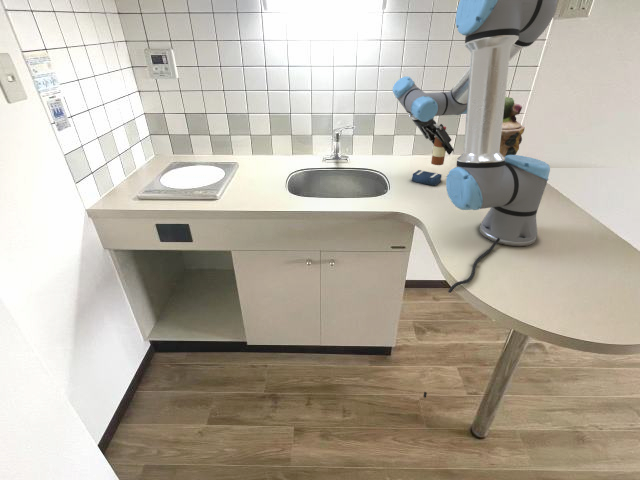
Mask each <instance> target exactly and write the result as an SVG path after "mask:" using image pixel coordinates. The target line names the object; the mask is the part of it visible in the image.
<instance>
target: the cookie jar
mask: <svg viewBox="0 0 640 480" xmlns="http://www.w3.org/2000/svg"><path fill="white" fill-rule="evenodd" d="M522 110H523V106H522V105H521V104H519V103H515V100H514V98H513V97H510V96H506V95H505V104H504V114H503V123H502V132H501V142H500V151H499V152H500V154H501V155H502V156H503V157H505V156H507V155H517V153H518V152H519V150H520V145H521V144H522V141H523V138H522V135H523V134H524V132H525V130H526V129H525V126H523V125H522V124H521V122H520V121H518V120H517V117H516V116H518V115H520V113H521V112H522Z"/></svg>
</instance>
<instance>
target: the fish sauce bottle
mask: <svg viewBox="0 0 640 480" xmlns="http://www.w3.org/2000/svg"><path fill="white" fill-rule="evenodd" d="M443 127H444V129H445V131H446V130H447V127H446V126H444V125H443ZM432 146H433V147H432V152H431V153H432V155H431V161H430V164H431V165H433V166H443V165H444V163H445V158H446V154H447V152H446V150H445V149H444V147H443V146H442V143H441V142H440V140H439V139H438V138H437V137H436V136H435V141H434V144H433V145H432Z"/></svg>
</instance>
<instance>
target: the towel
mask: <svg viewBox="0 0 640 480" xmlns="http://www.w3.org/2000/svg"><path fill="white" fill-rule="evenodd" d="M442 175H443V174H441V173H437V172H432V171H427V170H421V169H418V170H416V171H415V172H413V173H412V176H411V182H414V183H419V184H421V185H427V186H432V187H436V186H437V185H438V184H440V183H442V182H441V180H442Z"/></svg>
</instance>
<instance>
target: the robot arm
mask: <svg viewBox="0 0 640 480" xmlns="http://www.w3.org/2000/svg"><path fill="white" fill-rule="evenodd" d="M557 5H558V0H459V2H458V5H457V9H456V12H455V13H456V14H455V25H456V26H455V27H456V29H457V32H458V33H459V34H460V35H462V36H464V37H465V39H464V47H465V48H466V49H467V50H468V51H469V52H470V61H469V62H470V63H469V68H468V69H467V70H466V71H465V72H464V74H463V75H462V76H461V78H460V79H459V80H458V81H457V82H456V83H455V85H454V86H453V87H452V88H451V89H450V90H449V91H441V92H425V91H423V90H422V89H421V88H419V87H418V85H416V83H415V81H414V80H413V79H412V77H411V76H408V75H406V76H402V77H400V78H399V79H398V80H397V81H395V83H394V84H393V86H392V93H393V95H394V96H395V98H396V99H397V101H398V102H399V104H400V105H401V106H402V107H403V108H404V110H405V112H406V113H407V114H408V117H409V118H410V119H411V120H412V122H413V124H414V125H415V126H416V127H417V128H418V129H419V131H420V132H421V134H422V135H423V136H424V138H425V139H426V140H428V141H430V142H431V143H432V145H434V141H435V136H436V137H437V138H438V139H439V140H440V142H441V143H442V146H443V147H444V149H445V150H446V154H447V155H449V156H450V155H451V154H452V153H453V151H454V150H455V149H454V148H453V146H452V145H451V141H452V138H451V137H450V135H449V133H448V132H447V131H446V130H445V129H444V127H445V126H444V125H443V124H442V123H440V124H438V123H437V122H436V120H434V118H435V117H441V116H460V115H464V114H465V128H464V129H465V130H464V142H463V143H464V144H463V152H462V153H461V155H460V156H459V157H458V158H456V167H454V168H451V169H450V170H449V171H448V174H447V175H446V178H445V187H446V188H445V189H446V192H447V195H448V198H449V199H450V201H451V203H452V204H453V206H455V208H457V209H459V210H461V211H478V210H482V209H489V210H488V212H487V213H486V215H485V216H484V218H483V219H482V221H481V223H480V226H479V232H480V234H481V235H482V236H483V237H485V238H486V239H487V240H489V241H492V242H493V243H492V245H491V246H490V247H489V248H488V249H487V250H486V251H485V252H483V253H482V254H480V255H479V256H478V257H477V258H476V259H475V260H474V261H473V265H472V268H471V273H470V275H469V276H468V277H467V279H464V280H460V281H457V282H455V283H453V284H452V285H451V286H450V288H449V289H448V290H447V292H448V294H449V293H450V294H451V293H452V292H453V290H454V289H455V288H457V287H458V286H460V285H464V284H467V283H470V281H472V280H473V278H474V276H475V273H476V269H477V265H478V263H479V262H480V260H482V259H483V258H484V257H485V256H487V255H488V254H489V253H490V252H492V251H493V249H494V248H495V247H496V246H497V244H500V245H504V246H510V247H526V246H527V247H528V246H530V245H533V244H534V243H535V242H536V240H537V237H538V226H537V224H538V223H537V214H538V210H539V207H540V204H541V202H542V198H543V196H544V192H545V189H546V186H547V184H548V181H549V175H550V172H551V167H550V165H549V163H547V162H545V161H543V160H540V159H537V158H534V157H530V156H524V155H519V154H518V155H517V154H516V155H507V156H505V157H503V156H502V155H501V154H500V152H499V151H500V142H501V132H502V123H503V114H504V104H505V96H506V92H507V85H508V84H507V83H508V77H509V76H508V75H509V65H510V62H511V60H513V58H515V56H517V55H518V54H519V52H521V50H522V49H523V48H528V47H531V45H533V44H534V43H535V42H536V40H538V39H539V38H540V37H541V35H542V34H544V32H545V31H546V29H547V28H548V26H549V25H550V24H551V22H552V20H553V18H554V15H555V13H556V10H557ZM443 126H444V127H443ZM427 395H428V392H426V391H424V392H423V398H427Z"/></svg>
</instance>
